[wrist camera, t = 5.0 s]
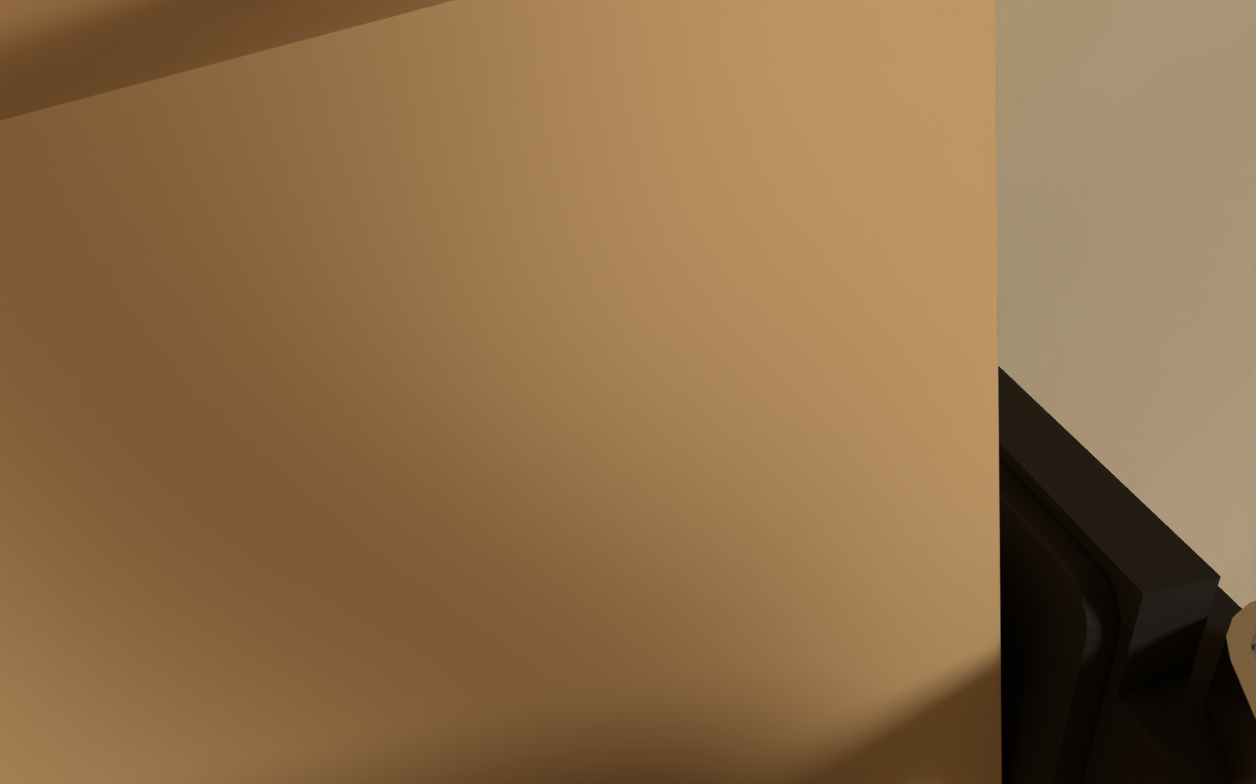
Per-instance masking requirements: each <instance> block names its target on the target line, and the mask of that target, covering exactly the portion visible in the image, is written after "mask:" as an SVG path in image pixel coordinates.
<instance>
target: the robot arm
mask: <svg viewBox="0 0 1256 784" xmlns="http://www.w3.org/2000/svg"><path fill="white" fill-rule="evenodd" d="M998 413H999V529H1000V645H1001V761H1002V784H1256V601H1254V602H1251V603H1249V604H1248V605H1247V606H1245V607H1244V608H1243V609H1242V608H1241V607H1239V606H1238V605H1237V604H1236V603H1235V602H1234V601H1233V600H1232V599H1231V598H1230V597H1229V596H1228V595H1227V594H1226V593H1225V592H1224V591H1223V590H1222V589H1221V588H1220V587H1219V586H1218V583H1219V580H1220V577H1221V576H1219V575H1218V574H1217V573H1216V572H1215V571H1214V570H1213V569H1212V568H1211V567H1210V566H1209V565H1208V564H1207V563H1206V562H1205V561H1204V560H1203V559H1202V558H1201V557H1199V556H1198V555H1197V554H1196V553H1195V552H1194V551H1193V550H1192V549H1191V548H1190V547H1189V546H1188V545H1187V544H1186V543H1185V542H1184V541H1183V540H1182V539H1180V538H1179V537H1178V536H1177V535H1176V534H1175V533H1174V532H1173V531H1172V530H1171V529H1170V528H1169V527H1168V526H1167V525H1166V524H1165V523H1164V522H1163V521H1161V520H1160V519H1159V518H1158V517H1157V516H1156V515H1155V514H1154V513H1153V512H1152V511H1151V510H1150V509H1149V508H1148V507H1147V506H1146V505H1145V504H1144V503H1142V502H1141V501H1140V500H1139V499H1138V498H1137V497H1136V496H1135V495H1134V494H1133V493H1132V492H1131V491H1130V490H1129V489H1128V488H1127V487H1126V486H1125V485H1123V484H1122V483H1121V482H1120V481H1119V480H1118V479H1117V478H1116V477H1115V476H1114V475H1113V474H1112V473H1111V472H1110V471H1109V470H1108V469H1107V468H1106V467H1105V466H1103V465H1102V464H1101V463H1100V462H1099V461H1098V460H1097V459H1096V458H1095V457H1094V456H1093V455H1092V454H1091V453H1090V452H1089V451H1088V450H1087V449H1086V448H1084V447H1083V446H1082V445H1081V444H1080V443H1079V442H1078V441H1077V440H1076V439H1075V438H1074V437H1073V436H1072V435H1071V434H1070V433H1069V432H1068V431H1067V430H1065V429H1064V428H1063V427H1062V426H1061V425H1060V424H1059V423H1058V422H1057V421H1056V420H1055V419H1054V418H1053V417H1052V416H1051V415H1050V414H1049V413H1048V412H1046V411H1045V410H1044V409H1043V408H1042V407H1041V406H1040V405H1039V404H1038V403H1037V402H1036V401H1035V400H1034V399H1033V398H1032V397H1031V396H1030V395H1029V394H1027V393H1026V392H1025V391H1024V390H1023V389H1022V388H1021V387H1020V386H1019V385H1018V384H1017V383H1016V382H1015V381H1014V380H1013V379H1012V378H1011V377H1010V376H1009V375H1007V374H1006V373H1005V372H1004V371H1003V370H1002V369H1001V368H1000V367H999V366H998Z"/></svg>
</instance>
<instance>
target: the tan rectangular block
mask: <svg viewBox="0 0 1256 784" xmlns="http://www.w3.org/2000/svg"><path fill="white" fill-rule="evenodd" d="M0 784H1002V761H1001V645H1000V529H999V413H998V297H997V180H996V64H995V0H0Z"/></svg>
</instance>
